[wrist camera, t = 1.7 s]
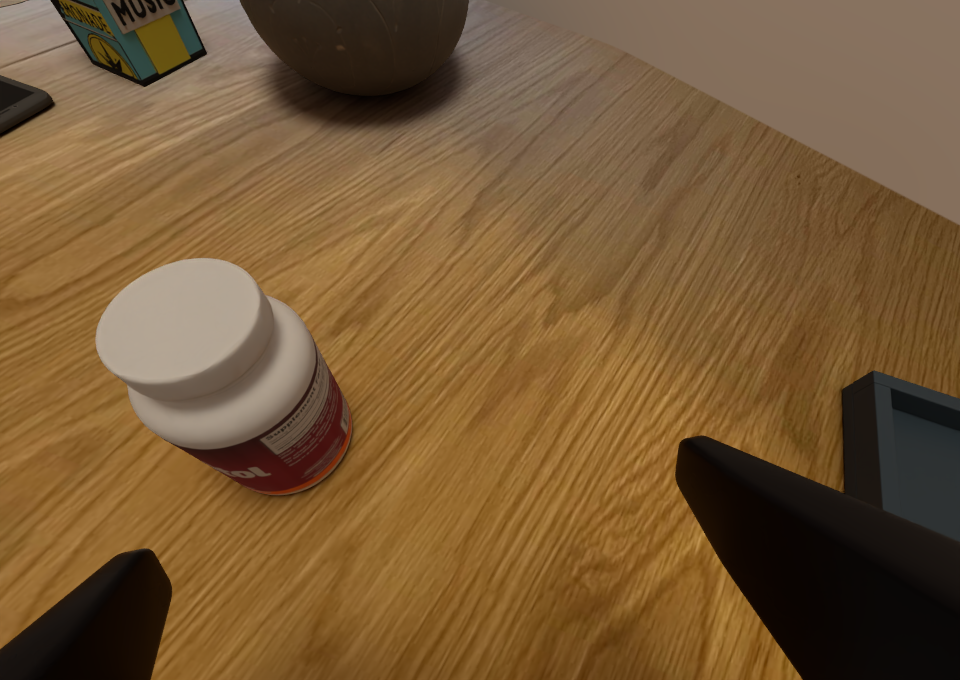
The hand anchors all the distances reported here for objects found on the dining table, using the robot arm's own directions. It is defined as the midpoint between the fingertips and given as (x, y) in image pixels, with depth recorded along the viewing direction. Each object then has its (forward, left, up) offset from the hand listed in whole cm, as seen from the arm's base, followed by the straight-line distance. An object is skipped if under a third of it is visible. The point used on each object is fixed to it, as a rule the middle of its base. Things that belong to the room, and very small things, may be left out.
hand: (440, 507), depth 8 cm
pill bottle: (+3, +10, -14) cm, 18 cm away
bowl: (+35, +24, -14) cm, 45 cm away
